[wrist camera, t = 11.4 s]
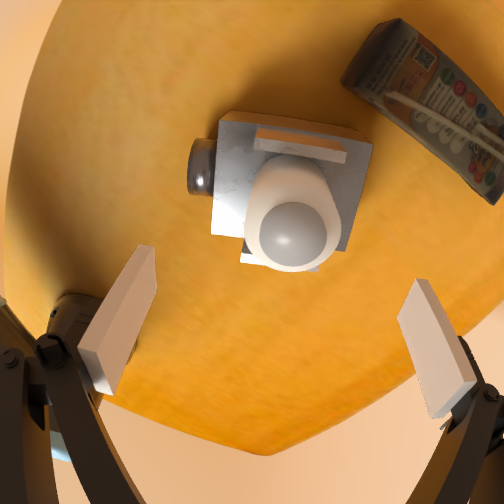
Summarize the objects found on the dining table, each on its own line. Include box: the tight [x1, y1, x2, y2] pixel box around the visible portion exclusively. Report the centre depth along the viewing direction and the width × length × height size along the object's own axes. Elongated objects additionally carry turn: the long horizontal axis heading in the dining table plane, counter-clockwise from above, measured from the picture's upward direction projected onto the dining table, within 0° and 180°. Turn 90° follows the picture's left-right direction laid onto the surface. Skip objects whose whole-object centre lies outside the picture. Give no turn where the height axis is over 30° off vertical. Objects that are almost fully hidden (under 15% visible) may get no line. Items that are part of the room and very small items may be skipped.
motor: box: [187, 110, 373, 272], centre depth 26 cm, size 14×10×10 cm
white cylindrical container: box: [244, 154, 341, 272], centre depth 22 cm, size 6×6×8 cm
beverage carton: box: [340, 18, 504, 205], centre depth 23 cm, size 8×19×7 cm, turn 62°
